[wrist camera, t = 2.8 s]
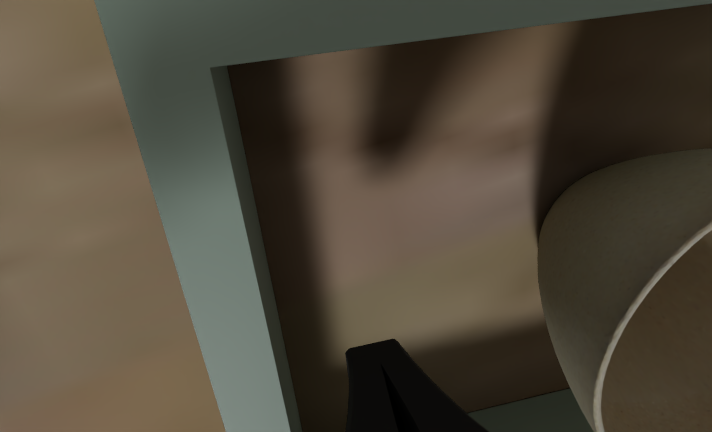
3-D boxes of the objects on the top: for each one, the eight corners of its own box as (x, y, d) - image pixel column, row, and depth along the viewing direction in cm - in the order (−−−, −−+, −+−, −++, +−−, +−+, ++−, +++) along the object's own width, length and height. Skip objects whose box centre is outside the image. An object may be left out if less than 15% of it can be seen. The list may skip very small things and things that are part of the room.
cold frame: (726, 373, 24) (834, 458, 20) (275, 486, 21) (283, 619, 17) (874, -91, 16) (1126, -124, 11) (144, -17, 12) (88, -20, 8)
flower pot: (739, 77, 17) (1028, 127, 11) (685, 305, 22) (869, 436, 15) (474, 122, 16) (626, 210, 10) (475, 355, 20) (579, 522, 14)
